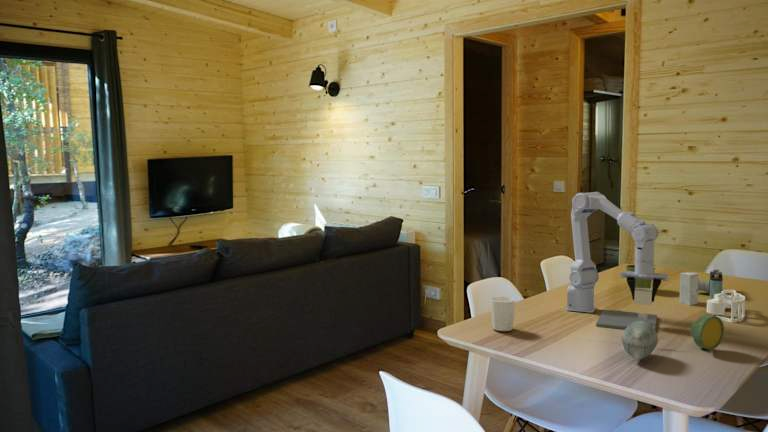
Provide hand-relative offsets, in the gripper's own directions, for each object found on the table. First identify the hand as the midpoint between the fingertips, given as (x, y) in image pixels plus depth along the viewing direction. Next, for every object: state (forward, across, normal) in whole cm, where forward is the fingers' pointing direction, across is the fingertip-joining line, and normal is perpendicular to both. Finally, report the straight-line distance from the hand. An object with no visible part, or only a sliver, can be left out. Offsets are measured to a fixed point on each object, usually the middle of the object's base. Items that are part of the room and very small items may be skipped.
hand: (643, 300), depth 194 cm
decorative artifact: (+9, +17, -16) cm, 25 cm away
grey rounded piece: (+9, +1, -30) cm, 31 cm away
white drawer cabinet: (+1, 0, 0) cm, 1 cm away
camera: (+9, +21, +58) cm, 62 cm away
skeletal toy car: (+9, +26, +27) cm, 39 cm away
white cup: (+9, -42, -22) cm, 48 cm away
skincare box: (+9, +14, +38) cm, 41 cm away
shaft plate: (+9, -5, +3) cm, 11 cm away
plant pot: (+9, -4, +51) cm, 52 cm away
